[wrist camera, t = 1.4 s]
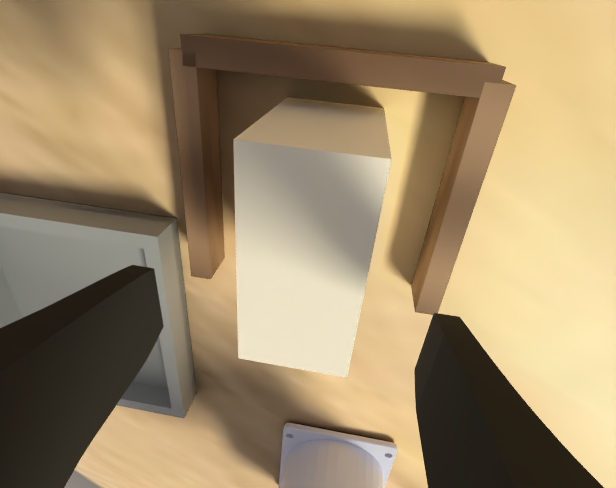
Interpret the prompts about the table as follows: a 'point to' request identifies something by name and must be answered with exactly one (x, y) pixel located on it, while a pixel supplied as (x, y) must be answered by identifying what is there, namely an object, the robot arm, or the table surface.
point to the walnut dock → (350, 70)
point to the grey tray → (93, 267)
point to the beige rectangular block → (306, 230)
